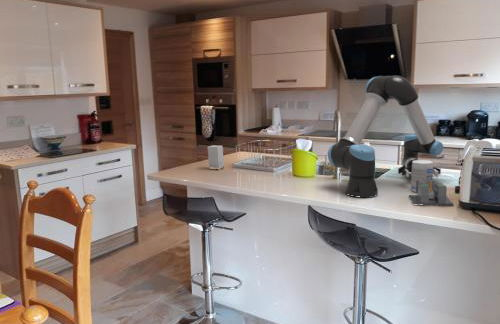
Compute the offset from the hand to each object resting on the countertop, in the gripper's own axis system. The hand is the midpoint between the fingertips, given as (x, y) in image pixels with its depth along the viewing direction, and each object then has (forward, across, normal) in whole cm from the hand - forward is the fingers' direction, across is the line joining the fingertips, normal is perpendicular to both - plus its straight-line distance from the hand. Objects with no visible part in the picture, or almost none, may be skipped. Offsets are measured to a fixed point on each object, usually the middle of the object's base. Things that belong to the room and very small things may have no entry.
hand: (422, 174), depth 197 cm
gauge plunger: (+16, +1, -6) cm, 17 cm away
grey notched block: (+20, +1, -8) cm, 22 cm away
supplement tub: (+2, +1, -8) cm, 8 cm away
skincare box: (-46, +118, -8) cm, 127 cm away
